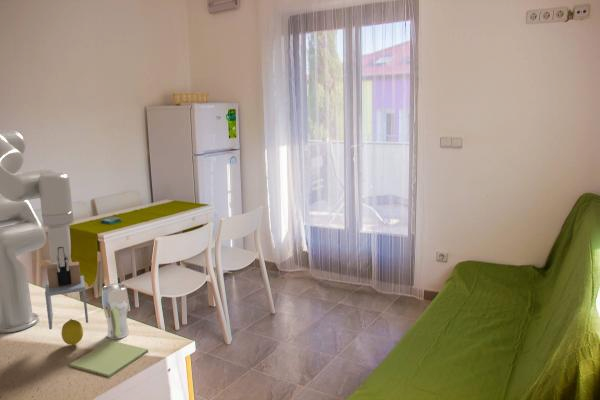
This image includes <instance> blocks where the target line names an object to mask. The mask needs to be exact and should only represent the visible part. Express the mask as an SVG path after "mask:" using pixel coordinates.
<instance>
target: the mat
mask: <svg viewBox="0 0 600 400" xmlns="http://www.w3.org/2000/svg"><path fill="white" fill-rule="evenodd" d="M147 353H149V349H148V348H143V347H140V346H135V345H132V344H127V343H124V342H123V343H122V342H120V341H119V342H118V341H114V340H112V339H110V340H108V341H107V342H105V343H104V344H102V345H100V346H98V347H97V348H95V349H93V350H90V352H87V353H86V354H84V355H82V356H81V357H79V358H78V359H76V360H74V361H72V362H71V363H69V367H73V368H76V369H79V370H82V371H86V372H90V373H93V374H96V373H97V375H101V376H105V377H108V378H111V377H112V376H113V375H116V373H118V372H120V371H121V370H123V369H125V368H126V367H127V366H128V365H130V364H132V363H133V362H135V361H136V360H138V359H139V358H141V357H142V356H143V355H145V354H147Z"/></svg>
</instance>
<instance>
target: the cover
mask: <svg viewBox="0 0 600 400" xmlns="http://www.w3.org/2000/svg"><path fill="white" fill-rule="evenodd" d="M65 264H66V263H65ZM68 266H69V270H70V275H71V284H69V285H63V286H59V285H58V276H57V272H58V268H57V263H56V264H49V265H46V275H47V280H46V283H45V290H44V291H45V292H44V295H45V304H46V312H47V320H48V330H52V329H53V320H54V319H53V317H54V313H53V305H52V297H53V296H58V295H64V294H71V293H77V292H82V297H83V306H84V307H83V308H84V317H85V323H86V324H87V323H88V324H89V316H88V304H87V296H86V295H87V294H86V286H85V276H84V275H81V269H80V261H72V262H69V263H68ZM66 268H67V267H66Z"/></svg>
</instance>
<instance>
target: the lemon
mask: <svg viewBox="0 0 600 400" xmlns="http://www.w3.org/2000/svg"><path fill="white" fill-rule="evenodd" d="M83 336H84V330H83V326H82V324H81V322H79V320H76V319H73V318H72V319H71V318H70V319H69V320H68V321H66V322H65V323H64V324H63V325H62V328H61V337H62V340H63V342H64V343H65V344H67V345H70V346H75V345H77V344H78V343H79V342H80V341H82V339H83Z"/></svg>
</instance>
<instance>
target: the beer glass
mask: <svg viewBox="0 0 600 400" xmlns="http://www.w3.org/2000/svg"><path fill="white" fill-rule="evenodd" d="M126 287H127V286H126V285H125V284H124V283H111V284H107V285H104V286H103V287H102V288H101V302H102V309H103V312H104V315H105V319H106V323H107V338H108V339H110V340H120V339H123V338H126V337H127V336H128V335H129V334H130V330H129V326H128V321H127V319H128V308H129V307H128V306H129V305H128V304H129V303H128V302H129V301H128V298H129V297H128V292H127V288H126Z"/></svg>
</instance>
